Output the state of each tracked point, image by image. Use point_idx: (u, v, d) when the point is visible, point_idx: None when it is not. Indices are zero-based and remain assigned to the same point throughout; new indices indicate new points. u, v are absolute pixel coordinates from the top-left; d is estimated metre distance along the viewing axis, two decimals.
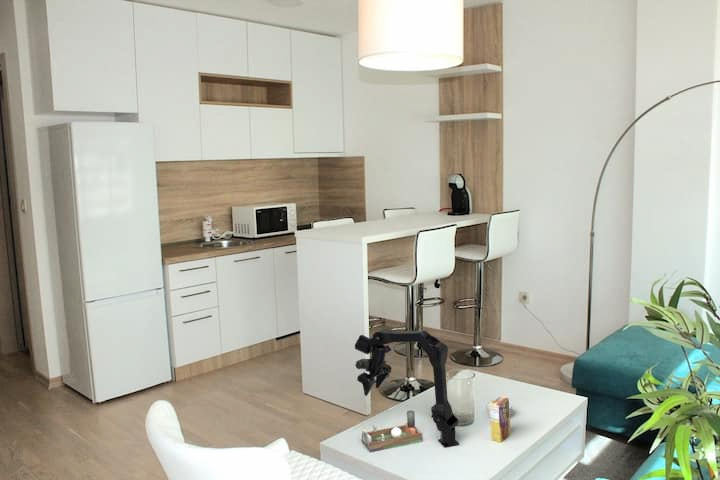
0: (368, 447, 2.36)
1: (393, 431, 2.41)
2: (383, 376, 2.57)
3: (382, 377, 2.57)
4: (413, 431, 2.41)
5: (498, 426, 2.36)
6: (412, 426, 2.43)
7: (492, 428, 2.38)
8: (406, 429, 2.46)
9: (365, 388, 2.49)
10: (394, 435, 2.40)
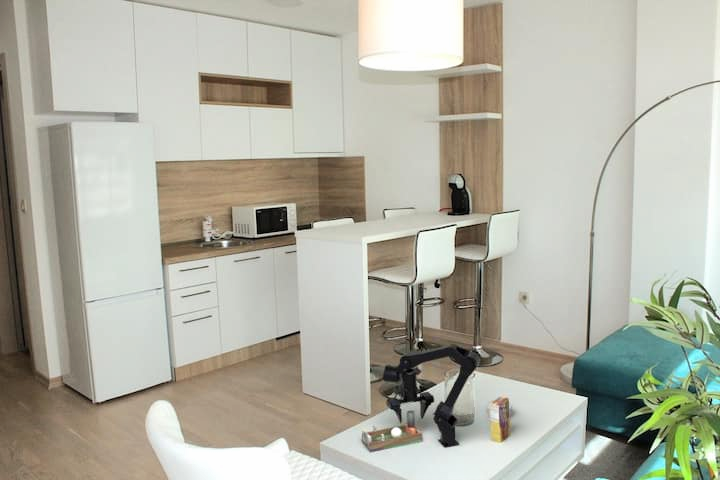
0: (368, 447, 2.36)
1: (393, 431, 2.41)
2: (423, 406, 2.43)
3: (423, 407, 2.43)
4: (413, 431, 2.41)
5: (498, 426, 2.36)
6: (412, 426, 2.43)
7: (492, 428, 2.38)
8: (406, 429, 2.46)
9: (397, 414, 2.42)
10: (394, 435, 2.40)
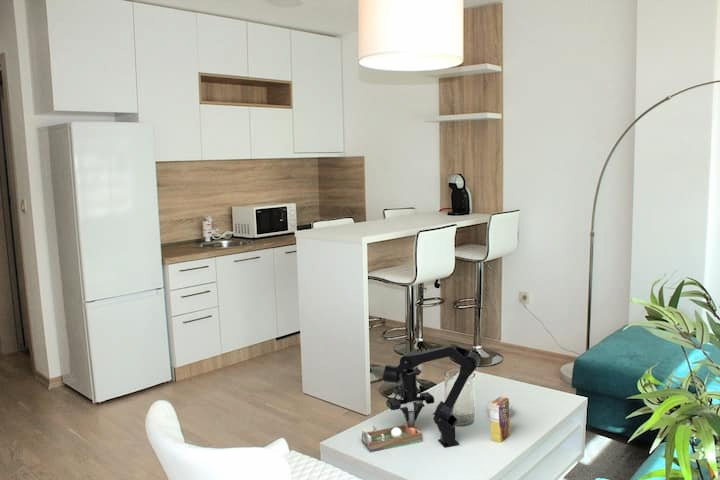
0: (368, 447, 2.36)
1: (393, 431, 2.41)
2: (417, 407, 2.42)
3: (416, 408, 2.42)
4: (413, 431, 2.41)
5: (498, 426, 2.36)
6: (412, 426, 2.43)
7: (492, 428, 2.38)
8: (406, 429, 2.46)
9: (403, 413, 2.43)
10: (394, 435, 2.40)
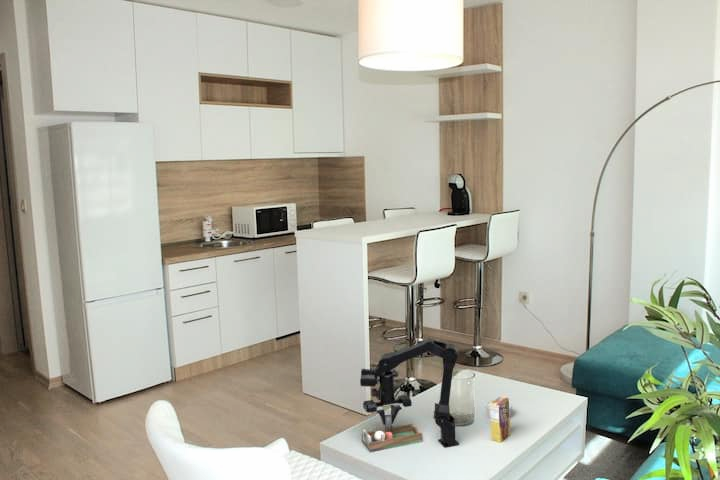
0: (368, 447, 2.36)
1: None
2: (394, 410, 2.39)
3: (393, 411, 2.40)
4: (390, 435, 2.38)
5: (498, 426, 2.36)
6: (389, 430, 2.40)
7: (492, 428, 2.38)
8: (384, 433, 2.43)
9: (380, 416, 2.40)
10: (384, 437, 2.39)
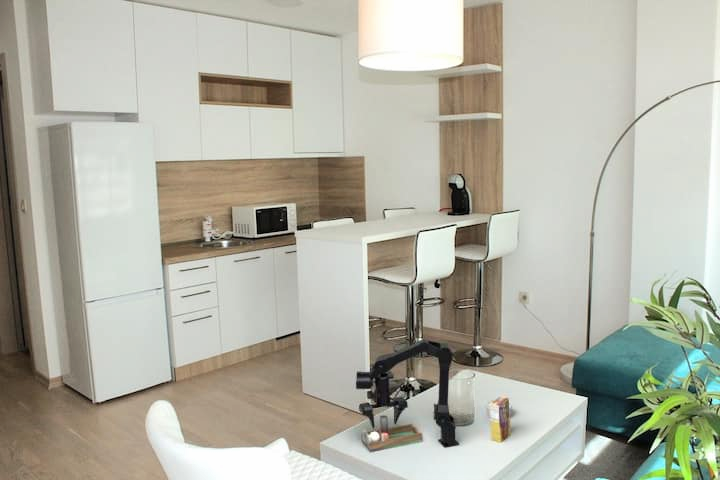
0: (368, 447, 2.36)
1: (379, 436, 2.39)
2: (397, 411, 2.39)
3: (396, 412, 2.40)
4: (386, 436, 2.37)
5: (498, 426, 2.36)
6: (385, 431, 2.39)
7: (492, 428, 2.38)
8: (379, 434, 2.42)
9: (370, 420, 2.38)
10: (377, 435, 2.38)
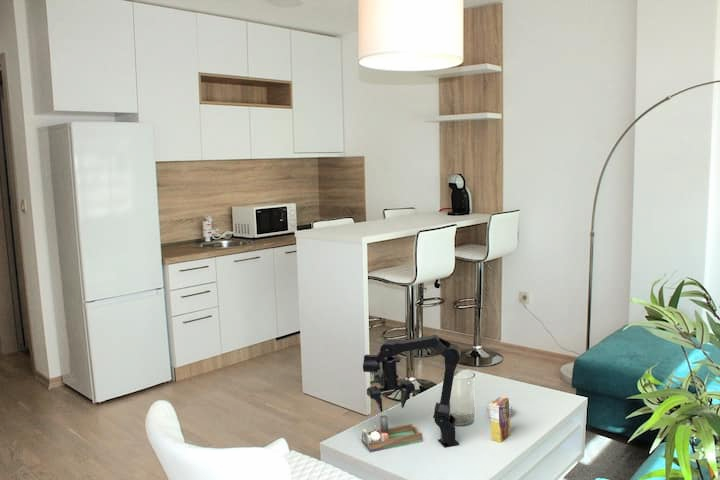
0: (368, 447, 2.36)
1: (380, 437, 2.40)
2: (404, 394, 2.41)
3: (404, 395, 2.42)
4: (386, 436, 2.37)
5: (498, 426, 2.36)
6: (385, 431, 2.39)
7: (492, 428, 2.38)
8: None
9: (377, 403, 2.40)
10: (378, 436, 2.38)
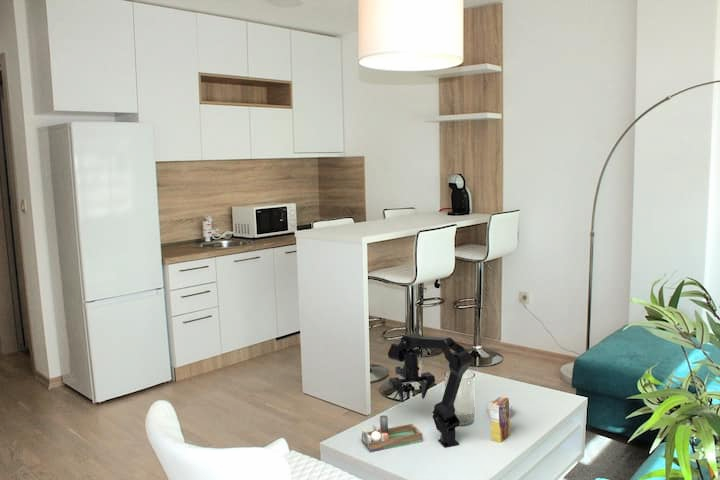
0: (368, 447, 2.36)
1: None
2: (425, 385, 2.49)
3: (424, 386, 2.49)
4: (386, 436, 2.37)
5: (498, 426, 2.36)
6: (385, 431, 2.39)
7: (492, 428, 2.38)
8: None
9: (399, 394, 2.48)
10: (379, 436, 2.38)
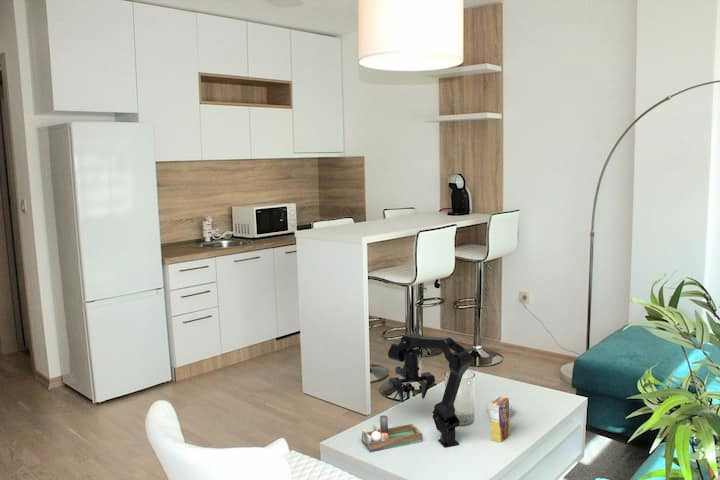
0: (368, 447, 2.36)
1: None
2: (425, 385, 2.49)
3: (424, 386, 2.49)
4: (386, 436, 2.37)
5: (498, 426, 2.36)
6: (385, 431, 2.39)
7: (492, 428, 2.38)
8: None
9: (399, 394, 2.48)
10: (380, 436, 2.38)
